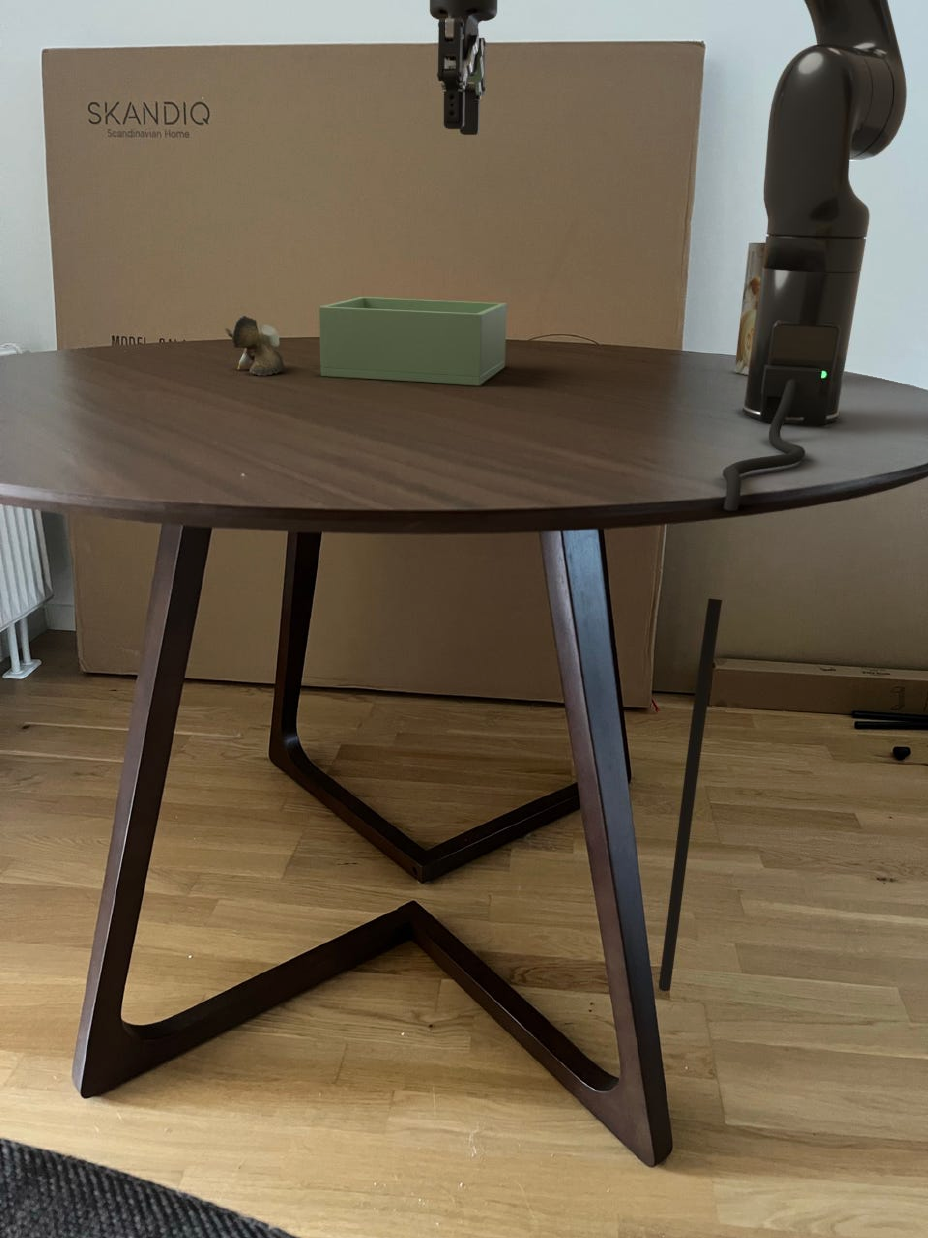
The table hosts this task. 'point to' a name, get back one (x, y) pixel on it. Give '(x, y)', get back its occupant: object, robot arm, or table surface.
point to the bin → (413, 340)
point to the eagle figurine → (257, 346)
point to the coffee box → (749, 306)
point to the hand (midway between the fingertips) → (461, 131)
